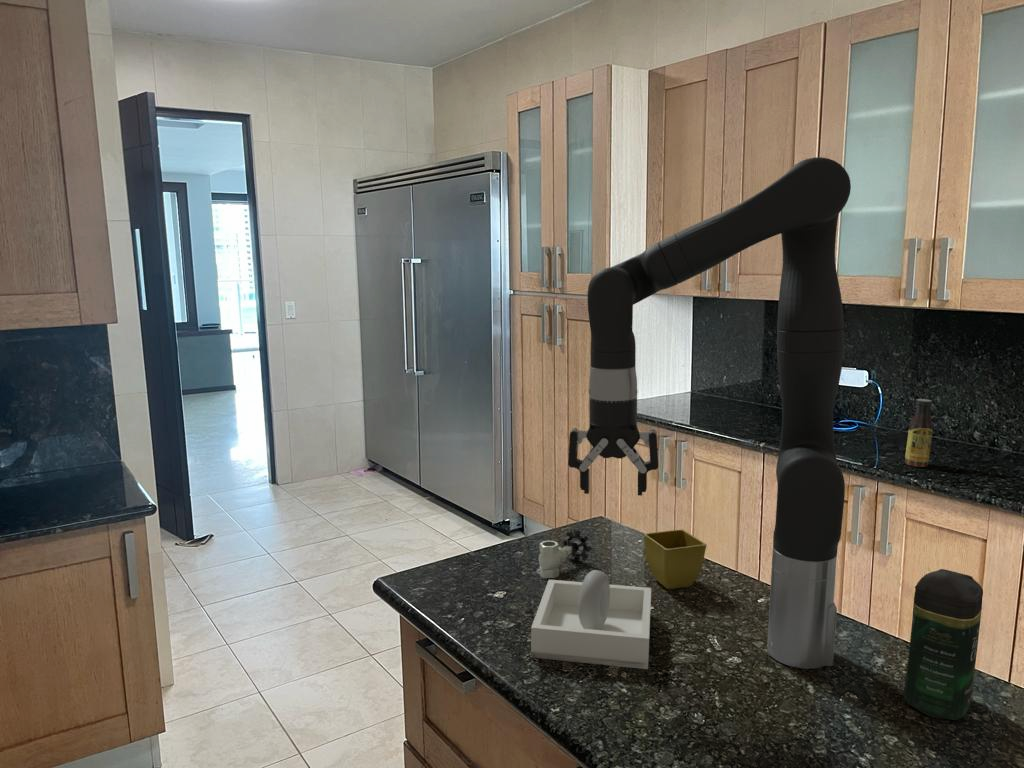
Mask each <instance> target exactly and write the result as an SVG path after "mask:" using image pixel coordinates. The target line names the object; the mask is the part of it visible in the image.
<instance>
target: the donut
mask: <svg viewBox="0 0 1024 768" xmlns="http://www.w3.org/2000/svg"><path fill="white" fill-rule="evenodd" d="M582 582H583V583H582V586H581V590H580V595H579V606H578V612H579V619H580V624H581V625H582V627H583V628H584V629H592V630H600V629H601V628H602V627H603V625H604V623H605V621H606V618H607V614H608V609H609V602H610V585H611V584H610V582H609V578H608V576H607V575H606V573H604V572H603V571H601V570H599V569H593V570H591V571H590V572H588V573H587V574H586V575H585V577H584V579H583V580H582Z"/></svg>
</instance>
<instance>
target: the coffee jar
mask: <svg viewBox="0 0 1024 768" xmlns="http://www.w3.org/2000/svg"><path fill="white" fill-rule="evenodd" d="M914 588H915V590H914V595H913V596H914V597H913V606H912V619H911V629H910V639H909V641H910V642H909V649H908V657H907V658H908V659H907V667H906V674H905V684H904V690H903V691H904V693H903V698H904V700H905V702H906V703H907V704H908V705H910V706H911V707H913V708H914V709H915V710H917V711H919V712H920V713H922V714H925V715H927V716H929V717H932V718H935V717H936V718H935V719H945V720H953V721H958V720H960V719H962V718H963V717H965V715H966V714H967V712H968V711H969V709H970V708H971V704H972V694H973V685H974V677H975V676H974V675H975V669H976V668H975V667H976V662H977V661H976V660H977V653H978V646H979V635H980V627H981V618H982V612H983V598H984V597H983V595H984V589H983V587H982V586H981V584H980V583H979V582H977V580H975V579H974V577H973V576H972V575H969V574H964V573H961V572H957V571H953V570H948V569H945V568H939V569H937V570H934V571H931V572H929V573H926V574H924V575H923V576H922V577H921V578H920V579H919V581H918V582H917V583H916V585H915V586H914Z"/></svg>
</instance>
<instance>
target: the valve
mask: <svg viewBox="0 0 1024 768" xmlns="http://www.w3.org/2000/svg"><path fill="white" fill-rule="evenodd" d="M581 534H582V532H581V530H580V529H576V530H575V531H574V532H572V531H568V532H566V534H565V536H566V538H567V537H568V538H567V539H565V540H563V541H562V545H563V546H564V547H561V546H560V544H559V543H558V542H557V541H554V540H543V541H542V542H540V543H539V555H538V564H539V576H540V577H541V578H543V579H547V578H554V579H556V578H558V577H559V575H560V568H559V566H560V564H561V563H563V562H565V561H566V559H567V556H571V557H573V561H574V562H576V561H577V562H579V561H580V560H582V561H586V560H588V559H589V555H588V554H587V553H589V552H591V551H592V547H591V546H590V545H588V544H587V542H588V541H589V536H587V535H584V536H581ZM574 539H577V540H579V541H580V542H579V541H573V540H574ZM572 541H573V542H572ZM582 548H583V549H582ZM581 549H582V551H581V552H580V553H579V552H578V551H579V550H581ZM581 557H582V558H581ZM557 576H558V577H557ZM555 577H556V578H555Z"/></svg>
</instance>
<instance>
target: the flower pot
mask: <svg viewBox="0 0 1024 768" xmlns="http://www.w3.org/2000/svg"><path fill="white" fill-rule="evenodd" d="M643 536H644V548H645V559H646V561H647V565H648V568H649V570H650V572H651V574H652V576H653V578H654V580H655V581H657V582H658V583H659V584H660V585H662V586H663V587H664V588H665V589H667V590H673V589H680V588H687V587H692V585H693V584H694V583H695V582H696V581H697V578H698V577H699V575H700V573H701V571H702V568H703V565H704V559H705V555H706V548H707V544H706V543H705V542H704V541H702V540H700V539H699V538H698V537H696V536H694V535H693V534H691V533H689V532H688V531H686V530H684V529H672V530H670V529H669V530H663V531H656V532H654V531H653V532H648V533H644V534H643Z"/></svg>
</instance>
